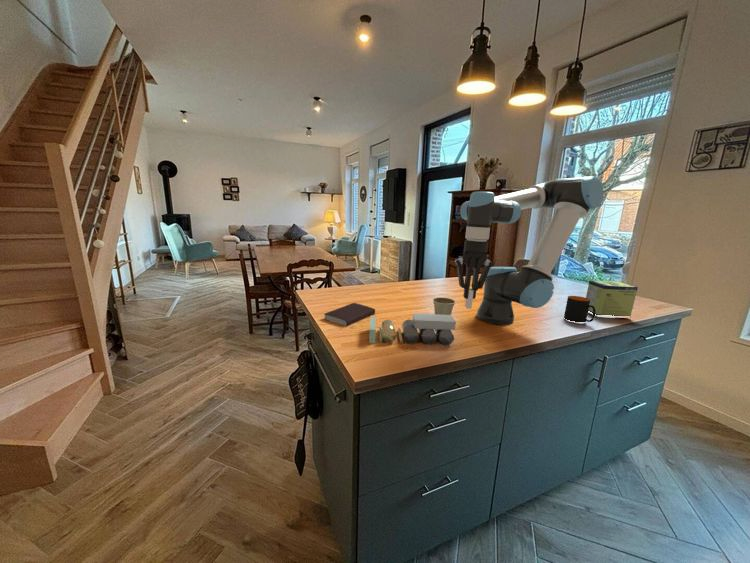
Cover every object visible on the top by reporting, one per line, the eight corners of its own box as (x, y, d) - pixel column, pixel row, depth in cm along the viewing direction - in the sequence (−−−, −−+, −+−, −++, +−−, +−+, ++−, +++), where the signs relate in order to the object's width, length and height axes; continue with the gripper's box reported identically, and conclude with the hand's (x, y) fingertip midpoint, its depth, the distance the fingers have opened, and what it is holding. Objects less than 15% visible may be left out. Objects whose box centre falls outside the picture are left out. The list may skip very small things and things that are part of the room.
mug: (585, 328, 126) (590, 304, 123) (559, 318, 137) (563, 296, 134) (598, 326, 129) (603, 302, 126) (572, 316, 140) (576, 295, 137)
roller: (384, 333, 114) (379, 322, 113) (396, 328, 113) (391, 317, 112) (385, 345, 104) (379, 333, 103) (397, 340, 104) (392, 328, 103)
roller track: (446, 333, 114) (447, 320, 113) (453, 345, 103) (455, 332, 102) (379, 330, 114) (379, 318, 113) (379, 342, 103) (380, 329, 102)
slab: (450, 322, 111) (450, 315, 110) (455, 330, 104) (455, 321, 104) (412, 321, 111) (412, 313, 110) (414, 328, 104) (415, 320, 104)
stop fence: (375, 329, 115) (375, 317, 113) (375, 343, 103) (375, 329, 102) (369, 329, 115) (370, 317, 113) (369, 343, 103) (369, 329, 102)
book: (375, 315, 132) (375, 308, 131) (346, 327, 116) (346, 319, 116) (353, 309, 139) (353, 302, 138) (323, 320, 123) (323, 312, 123)
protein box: (630, 319, 139) (638, 286, 136) (596, 317, 139) (604, 285, 136) (613, 312, 150) (620, 281, 146) (582, 310, 150) (588, 280, 146)
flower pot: (426, 319, 128) (428, 299, 126) (438, 314, 135) (440, 296, 133) (446, 325, 122) (448, 305, 120) (457, 320, 129) (459, 300, 127)
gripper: (491, 239, 104) (482, 305, 110) (454, 238, 104) (447, 303, 110) (500, 242, 97) (490, 311, 102) (460, 240, 97) (452, 309, 102)
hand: (468, 307), depth 106 cm, fingers closed
